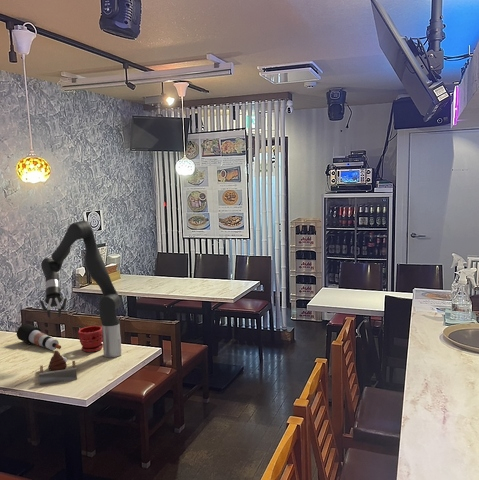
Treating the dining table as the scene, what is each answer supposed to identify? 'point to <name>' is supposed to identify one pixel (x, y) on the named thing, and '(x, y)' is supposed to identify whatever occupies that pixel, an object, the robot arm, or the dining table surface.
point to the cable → (36, 337)
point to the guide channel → (57, 375)
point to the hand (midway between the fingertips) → (54, 316)
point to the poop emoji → (57, 362)
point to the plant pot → (91, 338)
